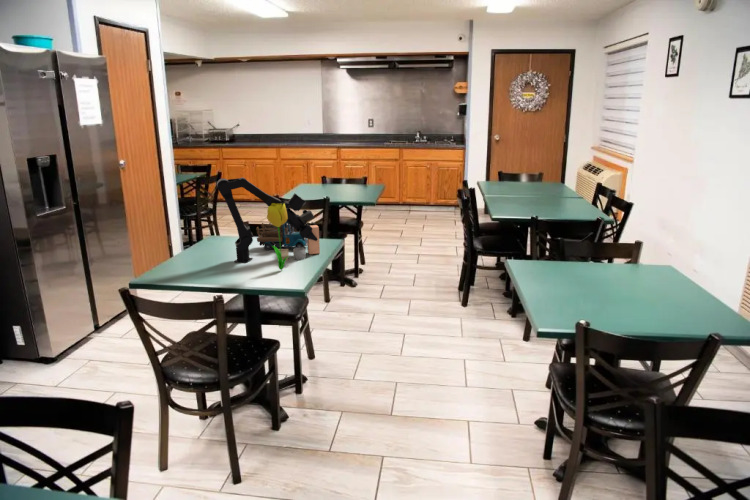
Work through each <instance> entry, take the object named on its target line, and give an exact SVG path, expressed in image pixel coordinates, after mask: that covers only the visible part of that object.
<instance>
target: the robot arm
mask: <svg viewBox="0 0 750 500" xmlns="http://www.w3.org/2000/svg"><path fill="white" fill-rule="evenodd" d="M216 188H217V190H218V192H219V193H220V195H221V196H222V198H223V199H224V201H225V202H226V205H227V207H228V210H229V212H230V215H231V216H232V219H233V221H234V224H235V226H236V231H237V235H238V238H237V240H235V242H234V245H235V250H236V252H235V253H236V259H235V260H234V263H248V262H250V261H252V260H253V257H250V250H249V248H250V245H251V244H252V243H253V242H254V238H253V237H254V235H253V232H252V231H251V228H250V225H249V226H246V225H245V223H244V221H243V218H242V216H241V213H240V211H239V209H238V206H237V204H236V202H235V200H234V196H233V191H232V190H235V189H236V190H237V189H239V188H243V189H245V190H246V191H247V192H249V193H250V194H252V195H254V196H255V197H256V198H258V199H259V200H261V201H263V203H264V204H265V205H266V206H267V207H268V206H270V205H271V204H272V203H275V204H277V203H279V204H280V203H282V205H283V204H285V207H286V210H287V217H288V219H287V221H286V222H287V223H289V225H290V227H291V226H292V227H293V229H295V230H296V232H300V236H301V237H303V238H308V239H311V240H315V241H317V240H318V239H317V238H316V236H315V235H314V234H313V233H312V229H313V228H312V227H311V226H312V225H310V224H309V222H308V221H310V220H312V219H314V218H315V215H314V214H313V212H312V211H311V209H310V210H307V209H303V210H302V213H301V215H299V214H296V212H299V211H300V210H301V209H302V208H303V206H304V205H305V204H307V201H305V199H303V198H302V197H301V196H299V195H298V194H297V193H295V192H294V193H293V194H292V196H291V197H290V199H289V200H288V201H287V200H280V199H279V198H277V197H275V196H273V195H271V194H268V193H266V192H265V191H263V190H262V189H261V188H259V187H257V186H256V185H254V184H253V183H252V182H250V181H249V180H248V179H246V177H239V178H238V177H237V178H230V179H227V178H220V179H218V181H216Z"/></svg>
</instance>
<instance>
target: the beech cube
mask: <svg viewBox="0 0 750 500" xmlns="http://www.w3.org/2000/svg"><path fill="white" fill-rule="evenodd" d="M278 249H279V251H280V248H278ZM280 254H281V256H282V260H284V259H285V258H286V257H287V256H288V257H287V258H286V260H285V262H286V261H287V262H288V261H289V260H290V259H289V258H290V255H289V248H281V253H280Z"/></svg>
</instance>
